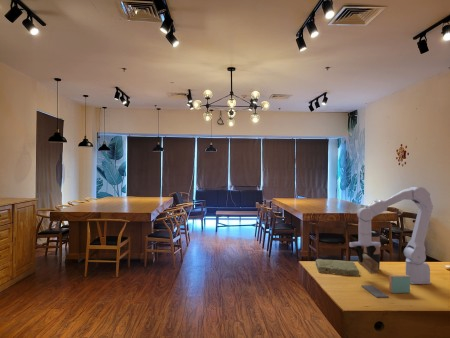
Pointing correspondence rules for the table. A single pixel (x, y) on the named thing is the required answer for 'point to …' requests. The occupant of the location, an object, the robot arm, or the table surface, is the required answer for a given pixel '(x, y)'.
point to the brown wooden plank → (369, 264)
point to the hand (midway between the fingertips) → (364, 261)
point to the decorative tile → (337, 267)
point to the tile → (399, 283)
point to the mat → (375, 291)
